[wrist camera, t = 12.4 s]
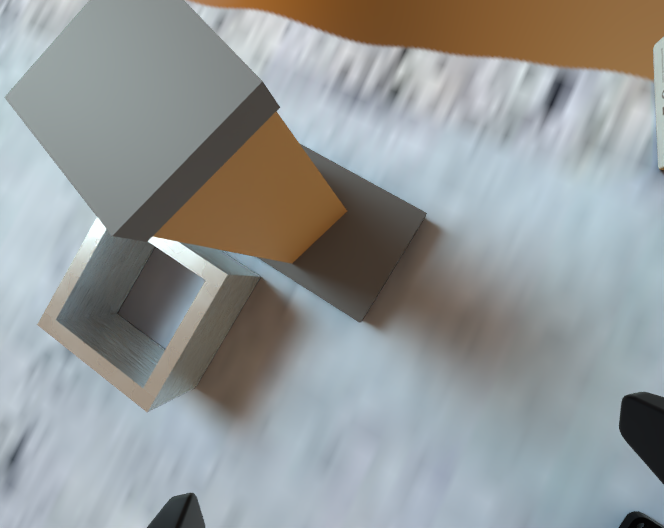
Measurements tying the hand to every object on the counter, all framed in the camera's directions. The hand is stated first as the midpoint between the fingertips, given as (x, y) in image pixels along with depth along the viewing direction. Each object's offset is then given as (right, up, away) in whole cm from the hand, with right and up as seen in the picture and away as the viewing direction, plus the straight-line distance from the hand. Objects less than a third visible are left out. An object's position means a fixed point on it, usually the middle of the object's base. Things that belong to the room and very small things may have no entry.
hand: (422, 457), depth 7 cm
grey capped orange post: (-4, +7, +12) cm, 14 cm away
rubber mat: (-4, +7, +13) cm, 15 cm away
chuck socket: (-11, +2, +14) cm, 18 cm away
